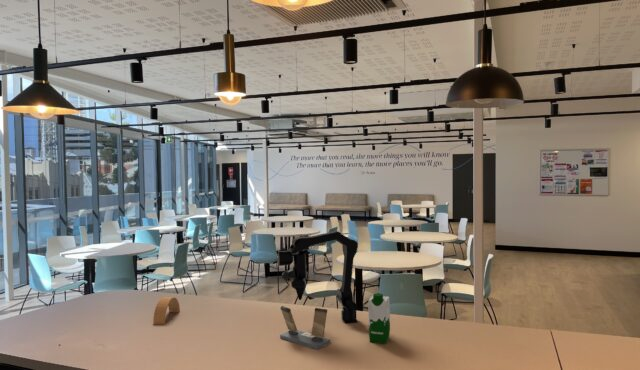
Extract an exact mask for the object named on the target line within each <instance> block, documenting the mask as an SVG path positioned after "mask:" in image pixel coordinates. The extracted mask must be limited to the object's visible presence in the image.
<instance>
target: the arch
mask: <svg viewBox="0 0 640 370" xmlns="http://www.w3.org/2000/svg"><path fill="white" fill-rule="evenodd" d="M167 310H168V312H169V313H180V312H181V308H180V302H179V300H178V299H177V298H176V296H175V297H173V296H172V297H169V296H168V297H166V296H165V297H161V298H160V299H159V300H158V301H157V303H156V306H155V309H154V312H153V321H152V322H153V323H152V324H153V325H165V324H166V317H167V315H166V314H167Z"/></svg>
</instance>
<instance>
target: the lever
mask: <svg viewBox="0 0 640 370" xmlns="http://www.w3.org/2000/svg"><path fill="white" fill-rule="evenodd" d="M280 310H281V311H280V312H281V314H282V316H283V318H284V322H285V324H286V328H287V330H288V331H290V330H291V331H293V332H296V331H297V330H298V328H297V326H296V325H297V324H296V323H295V320H294V316H293V314H292V311H291V308H289V307H287V306H284V305H281V306H280Z"/></svg>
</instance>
